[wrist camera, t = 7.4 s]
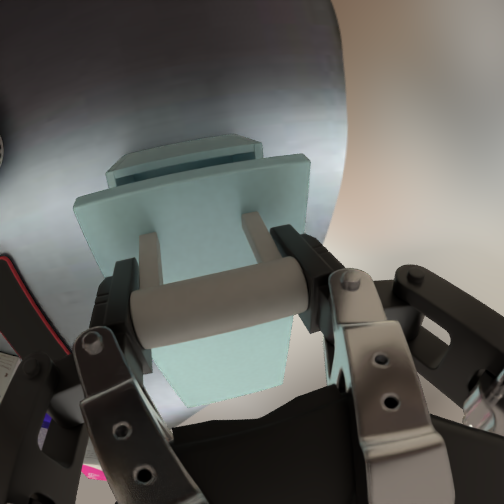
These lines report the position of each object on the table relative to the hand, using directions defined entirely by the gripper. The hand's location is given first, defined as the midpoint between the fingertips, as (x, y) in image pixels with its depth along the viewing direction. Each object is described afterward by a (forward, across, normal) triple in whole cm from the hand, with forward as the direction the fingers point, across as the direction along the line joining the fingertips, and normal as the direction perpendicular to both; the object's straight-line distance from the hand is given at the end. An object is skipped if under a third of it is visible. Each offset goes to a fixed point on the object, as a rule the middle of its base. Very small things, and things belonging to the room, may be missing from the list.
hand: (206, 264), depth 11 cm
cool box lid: (+4, 0, +7) cm, 8 cm away
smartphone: (+14, +21, +10) cm, 27 cm away
